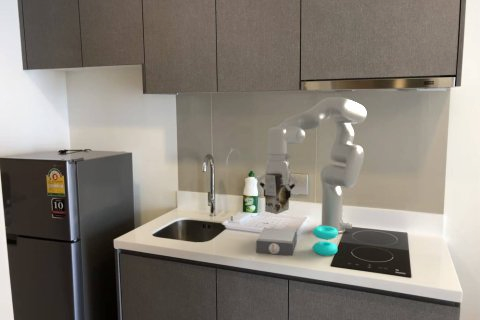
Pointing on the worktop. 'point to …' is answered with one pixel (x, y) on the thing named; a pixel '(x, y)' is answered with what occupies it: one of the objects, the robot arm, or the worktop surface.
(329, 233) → the donuts
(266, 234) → the scale
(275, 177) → the coffee box
